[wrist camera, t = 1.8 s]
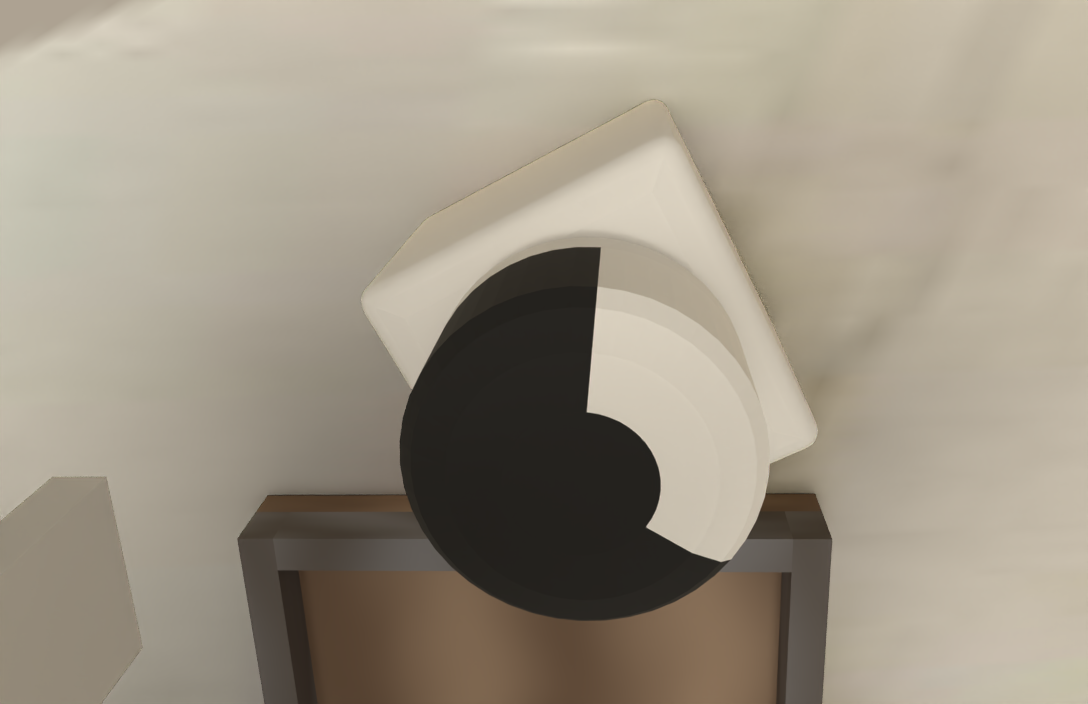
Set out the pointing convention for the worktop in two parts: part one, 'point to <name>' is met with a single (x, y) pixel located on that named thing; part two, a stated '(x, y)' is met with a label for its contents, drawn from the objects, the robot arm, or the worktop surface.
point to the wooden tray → (520, 618)
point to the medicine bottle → (587, 378)
